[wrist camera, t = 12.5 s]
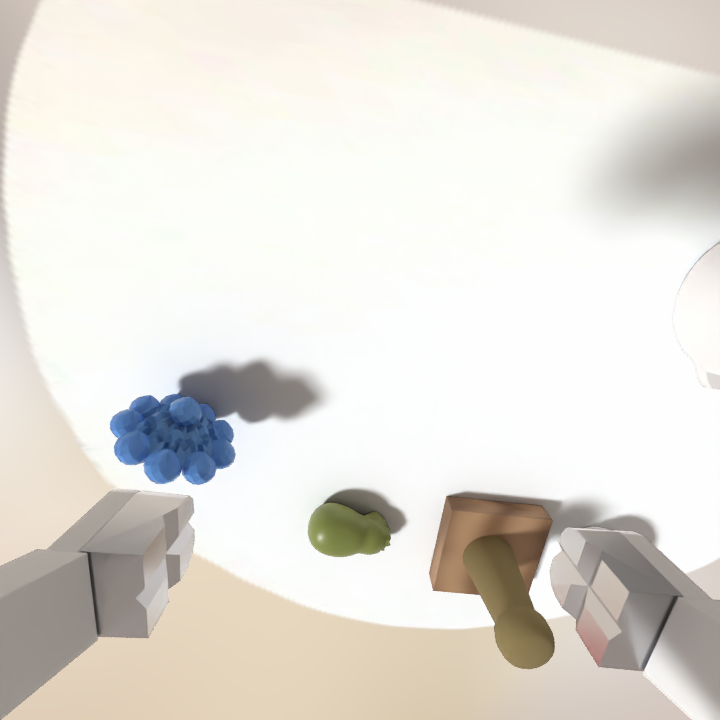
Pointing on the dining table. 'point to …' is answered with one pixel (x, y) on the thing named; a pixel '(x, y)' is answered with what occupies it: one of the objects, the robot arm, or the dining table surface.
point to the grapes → (173, 439)
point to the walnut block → (484, 518)
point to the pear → (347, 531)
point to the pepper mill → (508, 603)
